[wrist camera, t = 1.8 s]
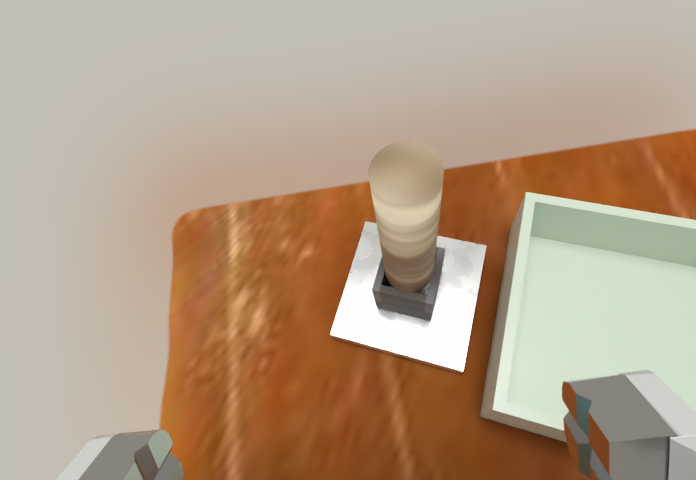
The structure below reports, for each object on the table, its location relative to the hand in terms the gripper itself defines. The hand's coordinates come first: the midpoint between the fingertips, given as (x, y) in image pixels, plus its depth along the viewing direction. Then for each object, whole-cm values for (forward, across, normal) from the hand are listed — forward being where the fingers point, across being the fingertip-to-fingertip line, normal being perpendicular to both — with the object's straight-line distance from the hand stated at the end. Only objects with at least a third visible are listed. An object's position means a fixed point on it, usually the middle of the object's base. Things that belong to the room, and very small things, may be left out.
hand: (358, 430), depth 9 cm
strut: (+30, -2, +11) cm, 32 cm away
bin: (+26, -17, +17) cm, 36 cm away
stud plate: (+31, -2, +12) cm, 33 cm away
